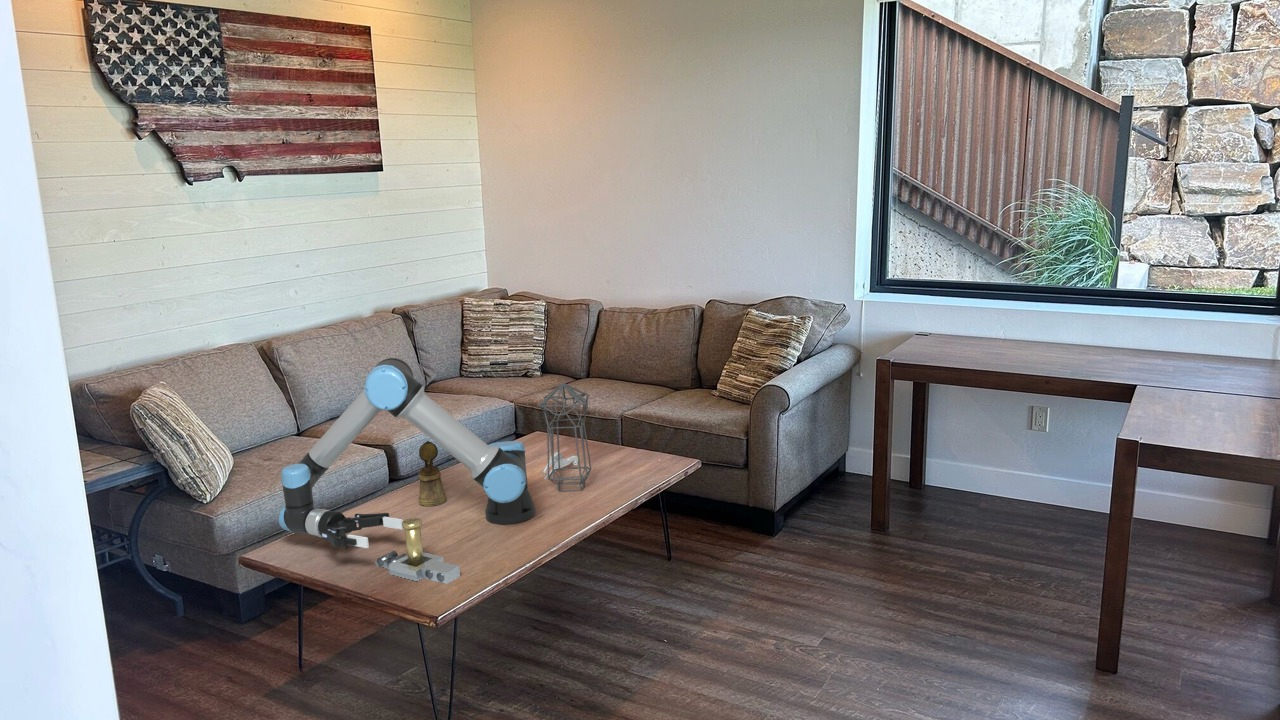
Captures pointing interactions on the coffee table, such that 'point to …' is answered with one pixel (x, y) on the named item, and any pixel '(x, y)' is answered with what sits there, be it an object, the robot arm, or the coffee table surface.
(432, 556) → the grey link plate
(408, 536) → the pin
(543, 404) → the geometric lantern
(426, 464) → the brass bell
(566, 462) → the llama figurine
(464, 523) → the coffee table surface
